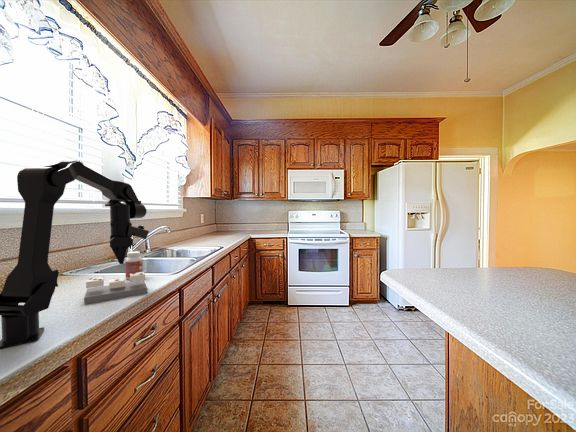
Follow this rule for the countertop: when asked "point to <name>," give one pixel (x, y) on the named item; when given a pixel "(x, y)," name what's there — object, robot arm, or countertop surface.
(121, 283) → the one-dot button
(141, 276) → the two-dot button
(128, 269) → the pill bottle
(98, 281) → the three-dot button
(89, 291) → the button panel
